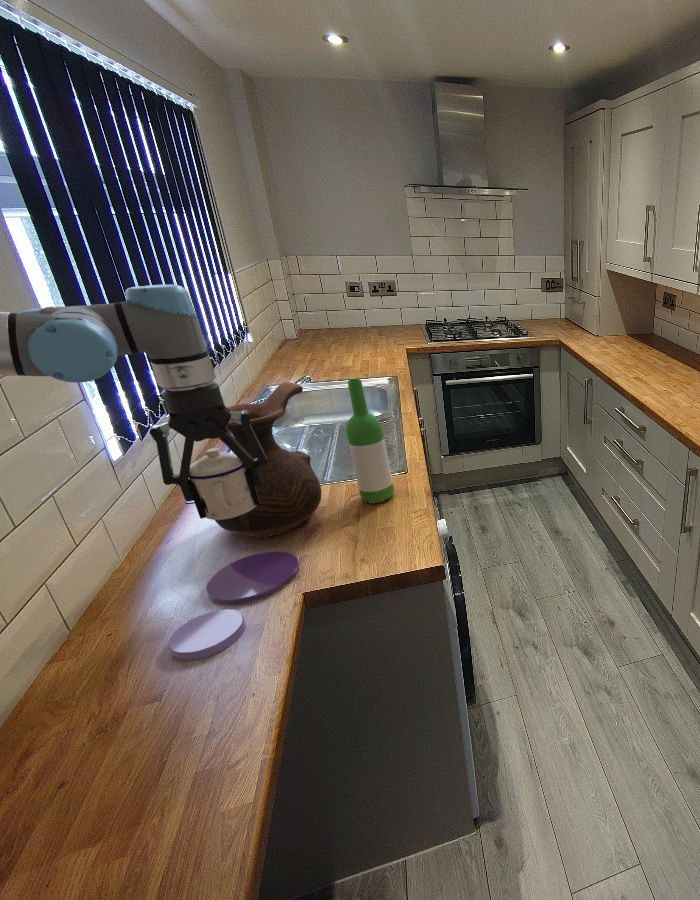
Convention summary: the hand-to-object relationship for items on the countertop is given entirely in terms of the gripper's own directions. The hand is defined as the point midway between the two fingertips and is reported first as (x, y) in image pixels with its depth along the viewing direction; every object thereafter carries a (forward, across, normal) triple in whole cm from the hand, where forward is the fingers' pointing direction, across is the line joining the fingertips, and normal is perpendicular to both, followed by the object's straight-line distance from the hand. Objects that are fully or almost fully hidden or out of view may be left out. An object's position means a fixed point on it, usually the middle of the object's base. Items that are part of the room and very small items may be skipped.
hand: (230, 508), depth 94 cm
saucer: (+16, 0, 0) cm, 16 cm away
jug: (+16, +5, +22) cm, 28 cm away
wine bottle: (+16, +27, +21) cm, 38 cm away
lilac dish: (+16, -7, -14) cm, 22 cm away
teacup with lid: (+1, 0, 0) cm, 1 cm away
